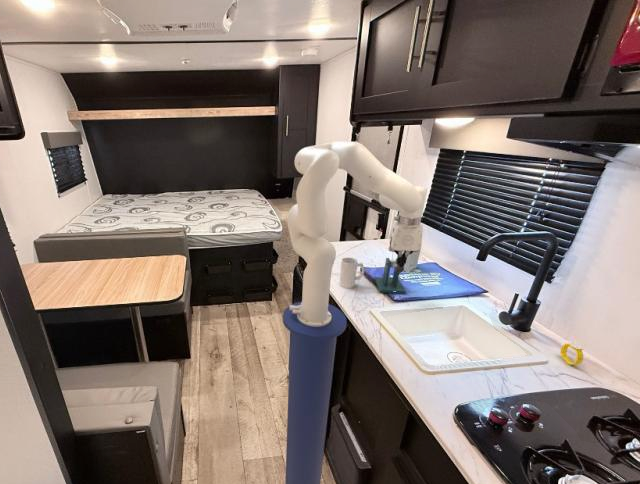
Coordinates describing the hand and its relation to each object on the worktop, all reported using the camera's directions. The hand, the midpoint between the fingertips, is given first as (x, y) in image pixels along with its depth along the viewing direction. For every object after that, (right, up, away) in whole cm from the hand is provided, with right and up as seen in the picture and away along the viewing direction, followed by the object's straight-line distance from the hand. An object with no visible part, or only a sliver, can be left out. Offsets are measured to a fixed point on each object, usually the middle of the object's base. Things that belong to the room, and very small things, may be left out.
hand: (400, 265), depth 123 cm
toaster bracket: (+2, -9, +14) cm, 17 cm away
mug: (-14, -9, +17) cm, 24 cm away
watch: (+34, -29, -30) cm, 54 cm away
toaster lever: (+1, -2, +5) cm, 6 cm away
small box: (+18, -1, +30) cm, 35 cm away
